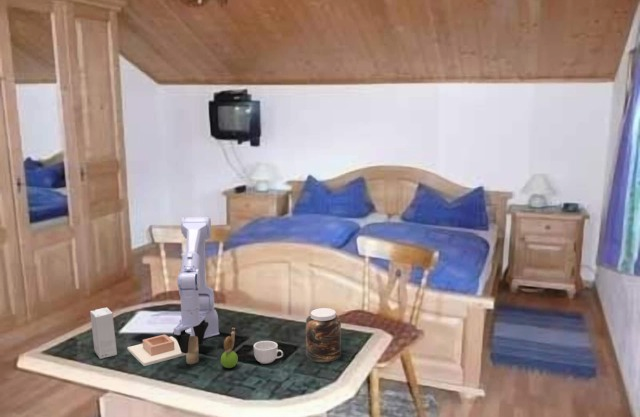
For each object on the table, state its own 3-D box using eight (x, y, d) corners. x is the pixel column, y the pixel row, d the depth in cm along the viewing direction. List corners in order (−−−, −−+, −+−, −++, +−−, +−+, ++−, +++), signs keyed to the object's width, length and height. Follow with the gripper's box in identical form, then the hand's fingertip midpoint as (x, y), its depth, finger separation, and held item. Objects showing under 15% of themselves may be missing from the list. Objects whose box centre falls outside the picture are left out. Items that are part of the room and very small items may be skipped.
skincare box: (117, 355, 194) (114, 313, 191) (98, 359, 191) (95, 316, 188) (111, 347, 201) (108, 306, 198) (92, 351, 197) (89, 309, 195)
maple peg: (195, 357, 192) (194, 334, 190) (200, 361, 188) (199, 338, 187) (184, 360, 189) (183, 337, 188) (189, 365, 186) (188, 341, 185)
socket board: (172, 338, 207) (171, 328, 207) (190, 353, 195) (190, 342, 194) (127, 349, 198) (126, 338, 197) (144, 366, 185) (143, 354, 185)
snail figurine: (242, 363, 187) (241, 328, 185) (233, 372, 181) (232, 335, 179) (227, 361, 189) (226, 326, 187) (217, 369, 183) (216, 333, 181)
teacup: (249, 364, 187) (249, 348, 186) (260, 354, 194) (259, 339, 193) (278, 368, 183) (277, 352, 182) (287, 358, 191) (287, 343, 190)
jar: (307, 347, 199) (307, 306, 197) (341, 348, 198) (341, 306, 196) (304, 362, 188) (304, 318, 185) (340, 363, 187) (340, 318, 184)
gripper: (194, 300, 194) (195, 338, 196) (165, 313, 181) (167, 354, 183) (211, 302, 191) (213, 341, 193) (183, 316, 178) (185, 358, 180)
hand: (191, 348), depth 188 cm, fingers open, 7 cm apart
